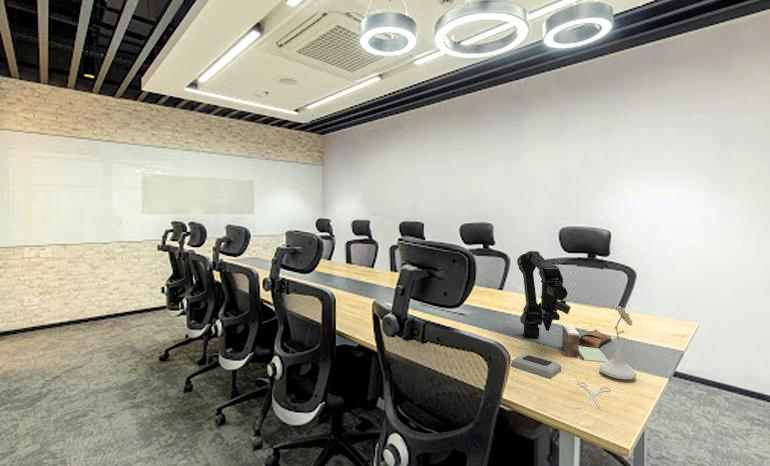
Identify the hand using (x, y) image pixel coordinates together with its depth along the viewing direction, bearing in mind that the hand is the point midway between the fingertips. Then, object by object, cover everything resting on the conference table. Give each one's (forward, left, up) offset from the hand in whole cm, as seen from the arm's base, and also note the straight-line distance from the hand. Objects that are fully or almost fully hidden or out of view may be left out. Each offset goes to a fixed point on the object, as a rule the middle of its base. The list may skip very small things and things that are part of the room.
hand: (547, 330), depth 159 cm
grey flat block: (-7, -23, -9) cm, 26 cm away
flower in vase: (+21, -20, -9) cm, 30 cm away
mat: (+17, 0, -8) cm, 19 cm away
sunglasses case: (+23, +17, -8) cm, 30 cm away
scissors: (+8, -40, -9) cm, 42 cm away
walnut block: (+9, 0, -8) cm, 12 cm away
